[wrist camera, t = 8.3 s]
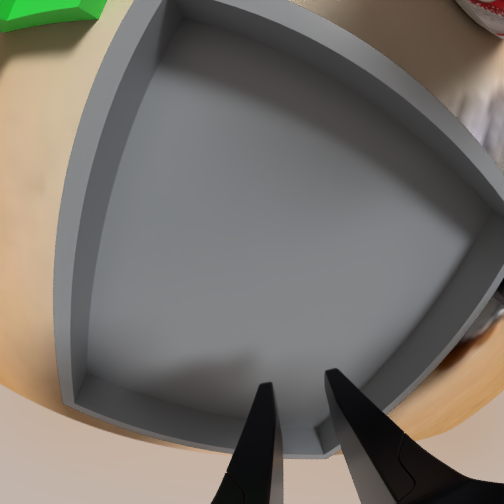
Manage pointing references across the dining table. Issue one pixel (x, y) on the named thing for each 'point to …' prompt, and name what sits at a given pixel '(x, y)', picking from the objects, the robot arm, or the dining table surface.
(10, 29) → the mechanical part
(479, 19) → the soda can
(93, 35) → the dining table surface
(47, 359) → the dining table surface
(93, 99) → the tray
